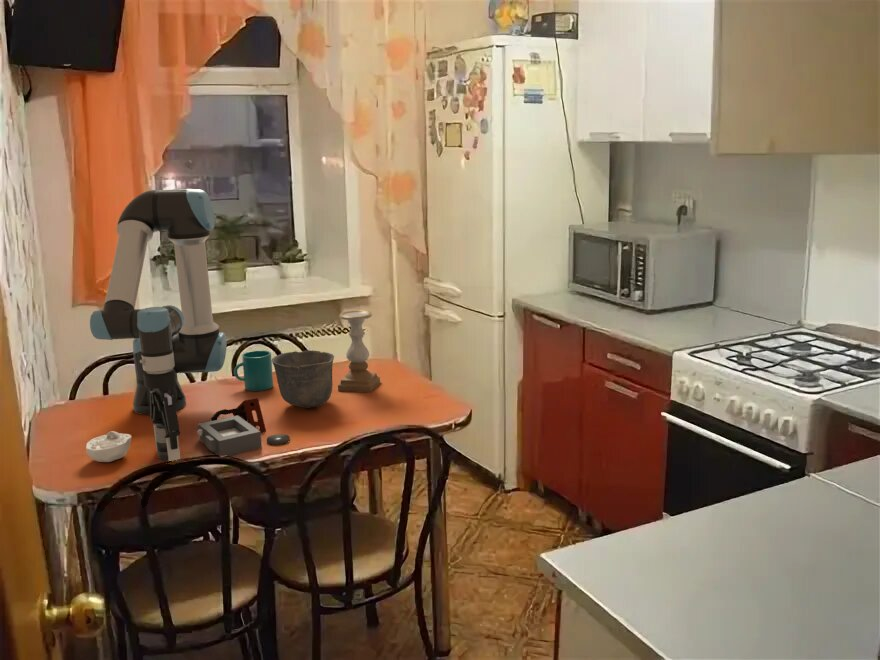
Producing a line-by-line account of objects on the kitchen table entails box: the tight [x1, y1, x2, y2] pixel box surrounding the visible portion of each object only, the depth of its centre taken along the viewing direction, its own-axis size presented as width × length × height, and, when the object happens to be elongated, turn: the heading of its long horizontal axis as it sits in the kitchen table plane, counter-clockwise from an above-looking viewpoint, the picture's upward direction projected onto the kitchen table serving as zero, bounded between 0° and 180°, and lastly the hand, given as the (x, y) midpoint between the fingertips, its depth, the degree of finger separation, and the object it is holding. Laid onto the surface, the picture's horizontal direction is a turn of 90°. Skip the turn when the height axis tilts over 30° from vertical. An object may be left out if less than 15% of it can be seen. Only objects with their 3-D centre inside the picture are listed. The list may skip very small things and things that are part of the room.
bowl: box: [271, 349, 335, 409], centre depth 247 cm, size 18×18×15 cm
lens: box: [154, 421, 174, 462], centre depth 211 cm, size 5×5×9 cm
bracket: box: [210, 397, 267, 434], centre depth 233 cm, size 10×14×10 cm
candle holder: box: [337, 310, 381, 393], centre depth 264 cm, size 11×11×24 cm
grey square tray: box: [197, 415, 263, 457], centre depth 219 cm, size 16×12×4 cm
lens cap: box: [266, 433, 291, 446], centre depth 221 cm, size 6×6×1 cm
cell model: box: [85, 430, 132, 463], centre depth 211 cm, size 10×12×7 cm
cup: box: [233, 350, 274, 392], centre depth 266 cm, size 9×12×11 cm
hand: (168, 453), depth 212 cm, fingers open, 10 cm apart
